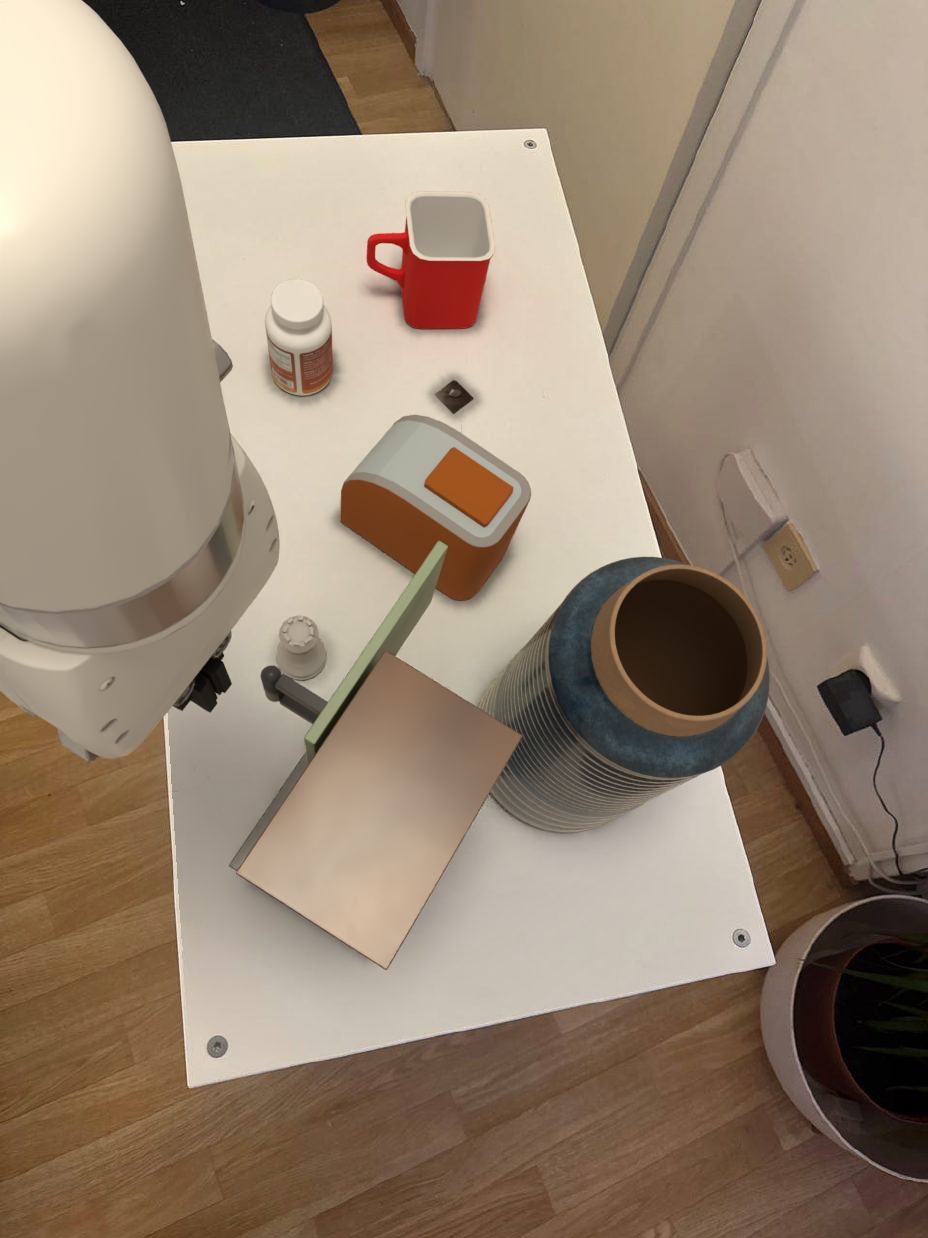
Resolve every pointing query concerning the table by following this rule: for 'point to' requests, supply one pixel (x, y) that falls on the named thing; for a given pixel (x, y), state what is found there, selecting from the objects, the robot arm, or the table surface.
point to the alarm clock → (436, 502)
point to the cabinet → (378, 809)
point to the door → (384, 639)
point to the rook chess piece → (300, 648)
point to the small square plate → (453, 396)
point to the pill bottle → (299, 338)
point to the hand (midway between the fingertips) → (192, 680)
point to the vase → (628, 692)
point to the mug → (440, 258)
